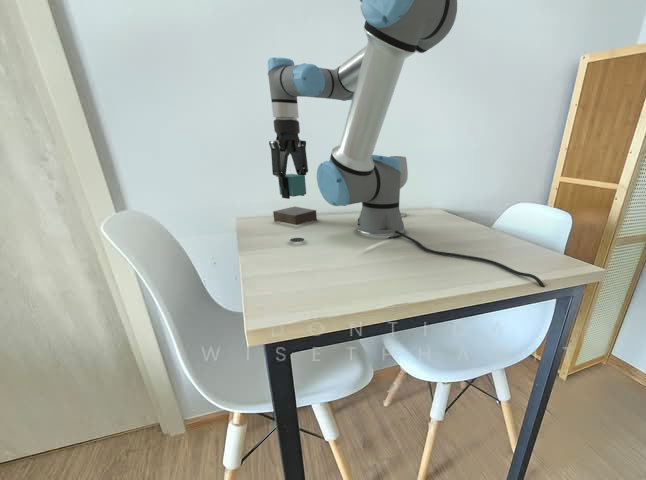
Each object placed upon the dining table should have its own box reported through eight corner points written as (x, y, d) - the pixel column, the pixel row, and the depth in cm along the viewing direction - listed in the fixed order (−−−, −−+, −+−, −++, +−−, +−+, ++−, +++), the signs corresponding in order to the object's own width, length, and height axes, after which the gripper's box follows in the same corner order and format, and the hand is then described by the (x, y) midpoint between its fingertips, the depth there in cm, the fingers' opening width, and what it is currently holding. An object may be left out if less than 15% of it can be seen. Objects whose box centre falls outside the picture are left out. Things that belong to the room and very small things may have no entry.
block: (306, 194, 120) (304, 175, 117) (293, 196, 115) (291, 177, 112) (293, 192, 122) (291, 173, 120) (279, 194, 118) (277, 175, 115)
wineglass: (409, 216, 136) (412, 157, 127) (391, 218, 133) (392, 157, 124) (400, 212, 142) (402, 155, 133) (383, 213, 139) (383, 155, 130)
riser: (317, 221, 125) (316, 210, 123) (296, 227, 117) (295, 215, 115) (295, 217, 129) (294, 206, 127) (274, 223, 121) (273, 211, 119)
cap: (307, 242, 103) (307, 239, 102) (297, 246, 100) (297, 242, 99) (297, 240, 104) (296, 236, 104) (287, 243, 101) (286, 240, 101)
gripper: (299, 119, 118) (304, 191, 128) (252, 117, 103) (262, 199, 113) (316, 120, 115) (321, 194, 125) (270, 118, 100) (280, 202, 110)
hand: (293, 196), depth 119 cm, fingers closed on block, 6 cm apart
